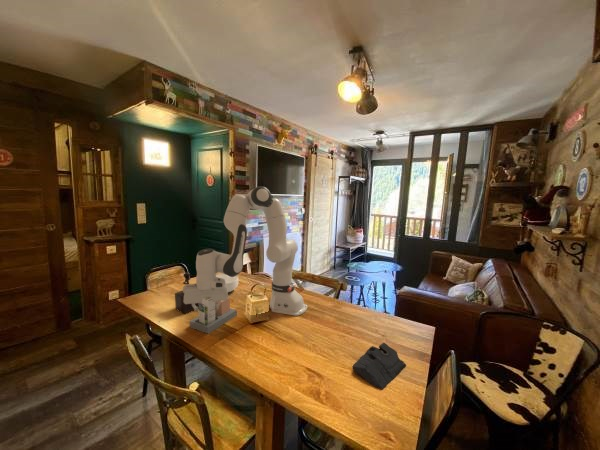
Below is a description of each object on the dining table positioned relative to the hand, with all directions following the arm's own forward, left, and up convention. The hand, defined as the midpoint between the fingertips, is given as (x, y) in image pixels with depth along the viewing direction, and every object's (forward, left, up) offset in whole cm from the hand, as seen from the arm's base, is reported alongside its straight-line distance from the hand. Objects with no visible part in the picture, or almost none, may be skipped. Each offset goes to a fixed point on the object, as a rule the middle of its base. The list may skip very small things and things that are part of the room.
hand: (206, 309), depth 119 cm
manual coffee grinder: (+25, -9, -8) cm, 28 cm away
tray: (0, -5, -8) cm, 9 cm away
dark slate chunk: (-80, -11, -9) cm, 81 cm away
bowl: (+24, -37, -8) cm, 45 cm away
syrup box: (0, 0, -8) cm, 8 cm away
